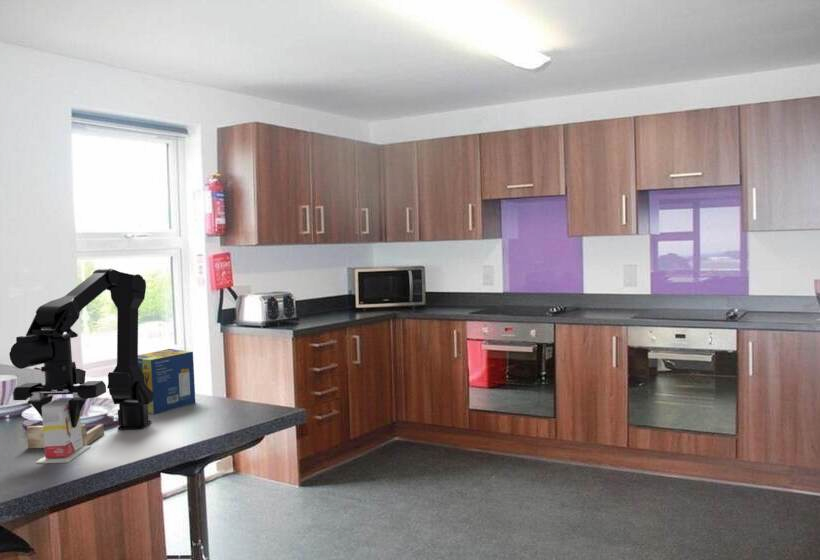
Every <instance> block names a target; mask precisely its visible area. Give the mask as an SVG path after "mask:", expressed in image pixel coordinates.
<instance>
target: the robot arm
mask: <svg viewBox="0 0 820 560" xmlns="http://www.w3.org/2000/svg"><path fill="white" fill-rule="evenodd" d="M146 289H147V282H146V279H144V277H143V275H141V274H134V273H133V274H131V273H127V272H126V273H125V272H122V271H119V270H117V269H113V268H98V269H96V270H94V271H93V272H92V274H91V275H90V276H88V277H87V278H86V279H85V280H83V281H82V282H81V283H79V284H78V285H77V286H76V287H74V288H73V289H72V290H71V291H69V292H68V293H67V294H64V296H62V297H60V298H57V299H53V300H51V301H47V302H46V303H44V304H42V305H41V306H39V307H38V308H37V309H36V310H35V316H34V317H33V319H32V321H31V324H30V326H29V328H28V330H27V332H26V333H25V335H19V336H16V337H15V341H16V342H15V343H14V344H13V345H12V346H11V348H10V352H9V353H8V354H9V359H10V362H11V363H12V365H13V366H14V367H15V368H17V369H20V370H21V369H27V368H31V367H35V366H39V365H43V366H41V367H40V371H41V373H42V372H43V373H44V381H45V383H44V384H42V382H26V383H23V384H21V385H19V386H18V385H17V386H16V387H15V388H14V389H13V391H12V399H13V401H27V404H29V405H30V404H31V405H32V406H33V408H34V409H35V410H36V411H37V413H38V414H39V415H40V417H41V418H42V406H43V405H45V404H47V403H49V402H51V401H53V397H54V395H58V396H59V395H72V396H73V397H71V398H72V399H70V400H69V409H70V417H71V424H72V427H73V428H75V427H76V426H77V423H78V420H79V416H80V417H81V414H82V413H81V412H82V409H83V407H84V405H85V403H86V401H87V400H89V399H94V398H98V397H100V396H102V395H103V394H105V393H107V389H108V393H109V396H111V399H112V402H113V404H114V405H119V406H118V408H119V409H117V420H118V423H117V424H118V427H117V430H141V429H144V428H146V426H148V425H150V424H151V423H152V420H149V413H148V404H150V402H152V401H153V395H154V393H153V392H152V391H151V390H150V389H149V388H148V387H147V386H146V385H145V380H144V374H143V372H142V371H141V369H140V367H139V365H138V355H139V309H140V307H141V305H142V303H143V302H144V300H145V297H146ZM106 290H107V291H109V293H110V298H111V301H112V302H113V304H114V306H115V307H116V310H117V316H116V317H117V322H116V323H117V325H116V327H117V329H116V330H117V332H116V333H117V335H116V336H117V337H116V366H115V368H114V369H113V370H112V371H111V372H108V373H107V380H108V381H107V382H108V383H107V386H106V383H105V382H104V381H103V380H89V381H86V373H87V372H86V370H84V369H81V368H77V366H76V365H77V364H76V362H75V361H73V355H72V354H73V353H72V339H74V338H77V337H78V336H79V335H78V333H76V332H75V331H74V330H72V327H73V326H74V325H75V324H76V322H77V321H78V320H79V318H80V314H81V311H83V310H84V308H86V307H87V306H88V305H89V304H90V303H91V302H93V301H94V300H95V299H96V298H97V297H99V296H100V295H101V294H103V292H105V291H106ZM28 399H29V400H28Z"/></svg>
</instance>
